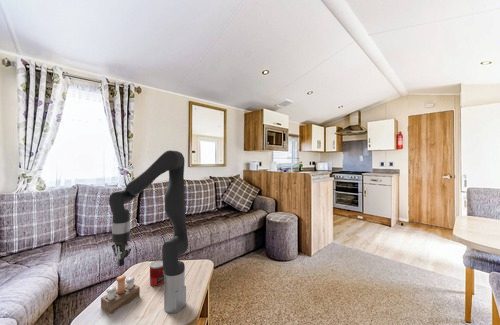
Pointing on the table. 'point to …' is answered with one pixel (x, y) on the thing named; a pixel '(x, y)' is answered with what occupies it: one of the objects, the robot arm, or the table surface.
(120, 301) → the walnut block
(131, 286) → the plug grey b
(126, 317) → the table surface
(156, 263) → the canned food
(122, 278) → the plug terracotta
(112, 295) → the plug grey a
